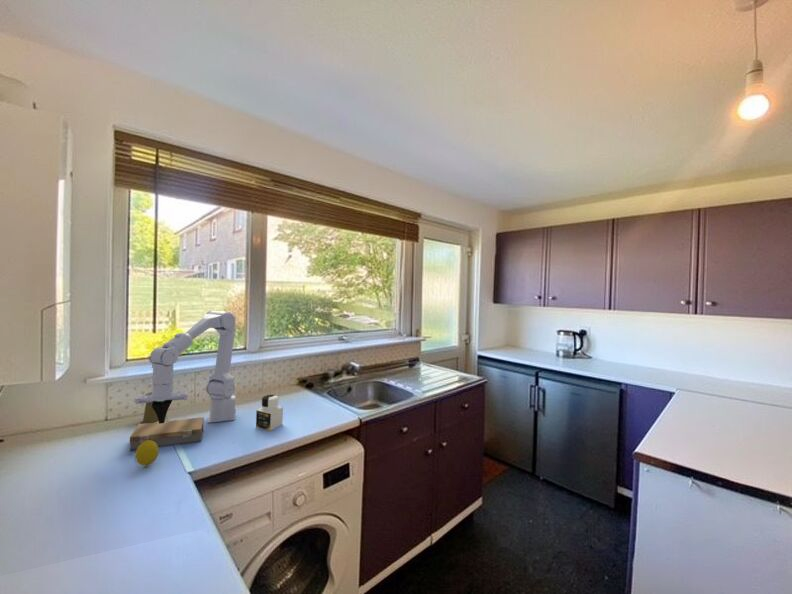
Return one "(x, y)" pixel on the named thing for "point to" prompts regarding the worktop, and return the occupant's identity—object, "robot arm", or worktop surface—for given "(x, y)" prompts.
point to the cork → (149, 413)
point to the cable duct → (171, 440)
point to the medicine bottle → (269, 413)
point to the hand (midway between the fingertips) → (161, 422)
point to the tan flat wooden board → (167, 429)
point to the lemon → (147, 452)
